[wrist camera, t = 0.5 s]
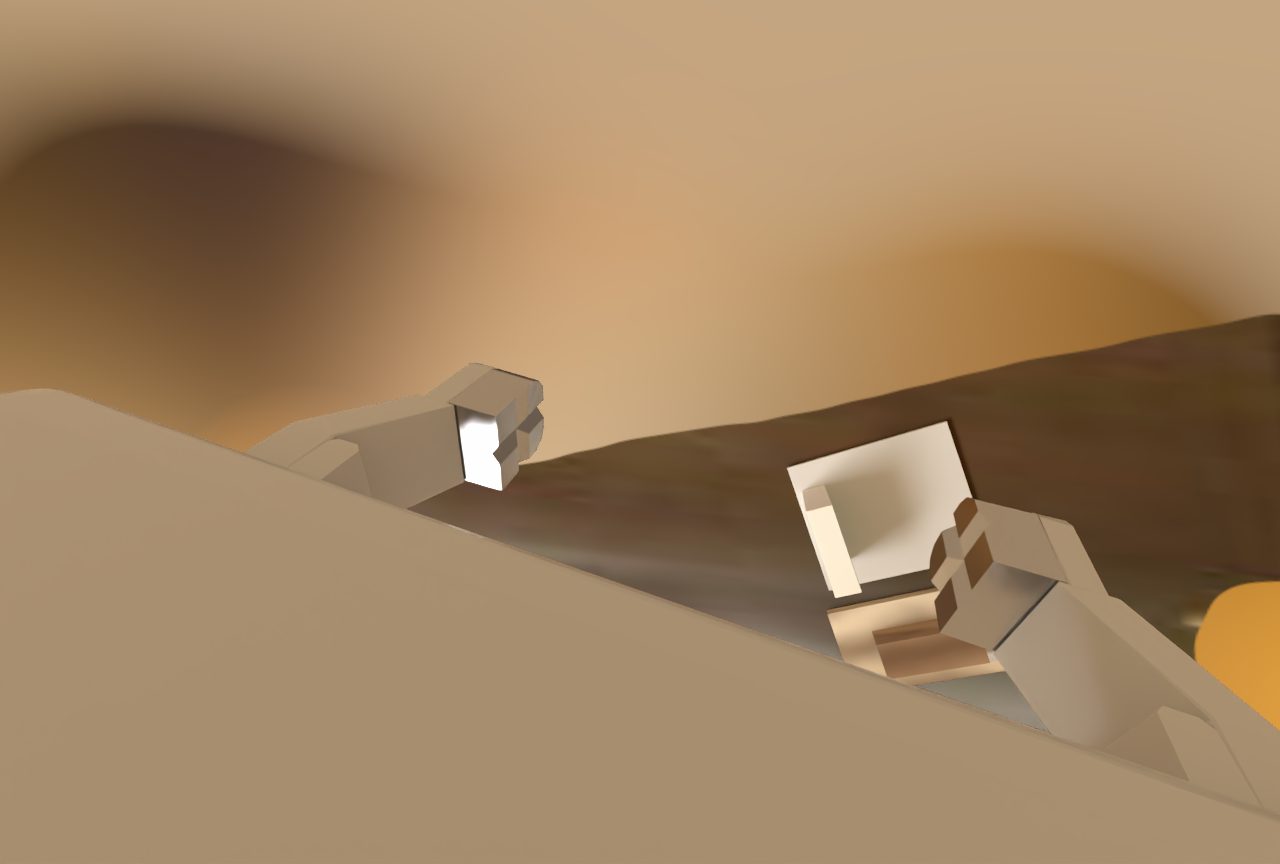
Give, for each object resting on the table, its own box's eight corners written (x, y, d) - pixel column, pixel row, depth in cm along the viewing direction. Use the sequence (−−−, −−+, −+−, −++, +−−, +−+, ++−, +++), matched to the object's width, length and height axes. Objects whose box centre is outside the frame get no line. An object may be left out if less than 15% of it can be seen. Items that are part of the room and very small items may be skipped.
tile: (849, 559, 58) (862, 592, 50) (827, 564, 59) (835, 598, 50) (824, 484, 58) (832, 504, 49) (802, 490, 59) (806, 511, 50)
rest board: (1067, 654, 54) (1072, 659, 53) (853, 689, 60) (855, 694, 60) (1038, 566, 54) (1042, 569, 53) (826, 610, 60) (827, 614, 59)
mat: (988, 553, 55) (991, 554, 54) (828, 588, 60) (828, 590, 59) (945, 421, 55) (946, 421, 54) (787, 467, 60) (787, 468, 59)
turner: (1055, 643, 54) (1071, 659, 51) (885, 672, 58) (891, 688, 55) (1038, 590, 53) (1052, 602, 50) (868, 623, 58) (873, 636, 55)
